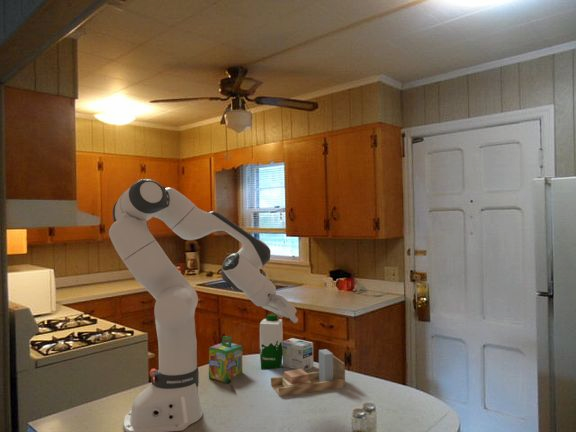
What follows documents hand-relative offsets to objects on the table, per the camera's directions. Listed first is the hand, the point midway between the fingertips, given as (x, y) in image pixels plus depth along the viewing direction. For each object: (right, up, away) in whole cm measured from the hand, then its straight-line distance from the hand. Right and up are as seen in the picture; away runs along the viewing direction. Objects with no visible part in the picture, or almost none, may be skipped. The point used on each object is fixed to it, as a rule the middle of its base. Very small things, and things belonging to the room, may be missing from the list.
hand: (289, 318), depth 148 cm
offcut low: (+3, -24, 0) cm, 24 cm away
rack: (+6, -25, +1) cm, 26 cm away
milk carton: (-7, -25, +25) cm, 36 cm away
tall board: (+13, -23, +4) cm, 27 cm away
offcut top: (+2, -21, +1) cm, 21 cm away
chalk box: (-23, -25, +14) cm, 37 cm away
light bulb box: (+3, -25, +22) cm, 33 cm away
